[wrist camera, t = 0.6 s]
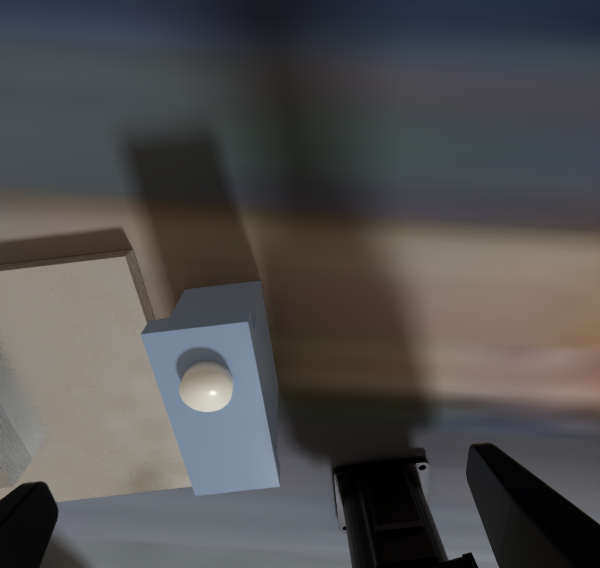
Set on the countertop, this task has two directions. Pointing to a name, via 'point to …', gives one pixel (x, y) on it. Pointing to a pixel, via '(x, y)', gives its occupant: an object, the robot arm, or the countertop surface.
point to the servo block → (219, 386)
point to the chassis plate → (81, 381)
